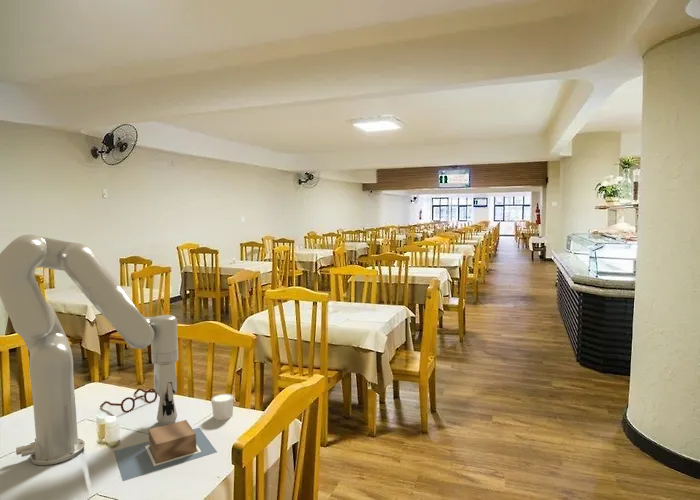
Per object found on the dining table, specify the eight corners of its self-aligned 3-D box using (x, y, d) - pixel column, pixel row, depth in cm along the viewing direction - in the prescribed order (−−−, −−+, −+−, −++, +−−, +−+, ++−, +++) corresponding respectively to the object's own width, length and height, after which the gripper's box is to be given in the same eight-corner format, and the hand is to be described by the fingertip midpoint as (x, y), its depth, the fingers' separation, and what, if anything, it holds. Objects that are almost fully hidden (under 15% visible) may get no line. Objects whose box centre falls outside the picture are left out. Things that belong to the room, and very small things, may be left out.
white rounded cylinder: (238, 418, 146) (238, 397, 145) (219, 426, 141) (218, 404, 140) (226, 412, 151) (226, 391, 150) (207, 419, 146) (206, 398, 145)
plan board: (123, 484, 111) (122, 480, 111) (113, 454, 125) (113, 450, 125) (217, 455, 124) (217, 451, 124) (199, 430, 138) (199, 427, 138)
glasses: (122, 415, 150) (121, 401, 150) (100, 407, 157) (99, 393, 156) (158, 401, 161) (157, 387, 161) (135, 393, 168) (134, 380, 168)
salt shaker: (163, 430, 138) (162, 388, 137) (153, 424, 142) (151, 383, 140) (181, 423, 143) (179, 382, 142) (170, 418, 146) (169, 378, 145)
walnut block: (157, 463, 119) (156, 444, 118) (149, 446, 127) (148, 429, 127) (196, 451, 124) (195, 433, 124) (186, 436, 133) (186, 419, 132)
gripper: (146, 351, 145) (148, 408, 147) (157, 365, 131) (159, 428, 133) (171, 347, 149) (173, 402, 151) (184, 361, 136) (186, 421, 137)
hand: (167, 414), depth 142 cm, fingers closed on salt shaker, 3 cm apart
